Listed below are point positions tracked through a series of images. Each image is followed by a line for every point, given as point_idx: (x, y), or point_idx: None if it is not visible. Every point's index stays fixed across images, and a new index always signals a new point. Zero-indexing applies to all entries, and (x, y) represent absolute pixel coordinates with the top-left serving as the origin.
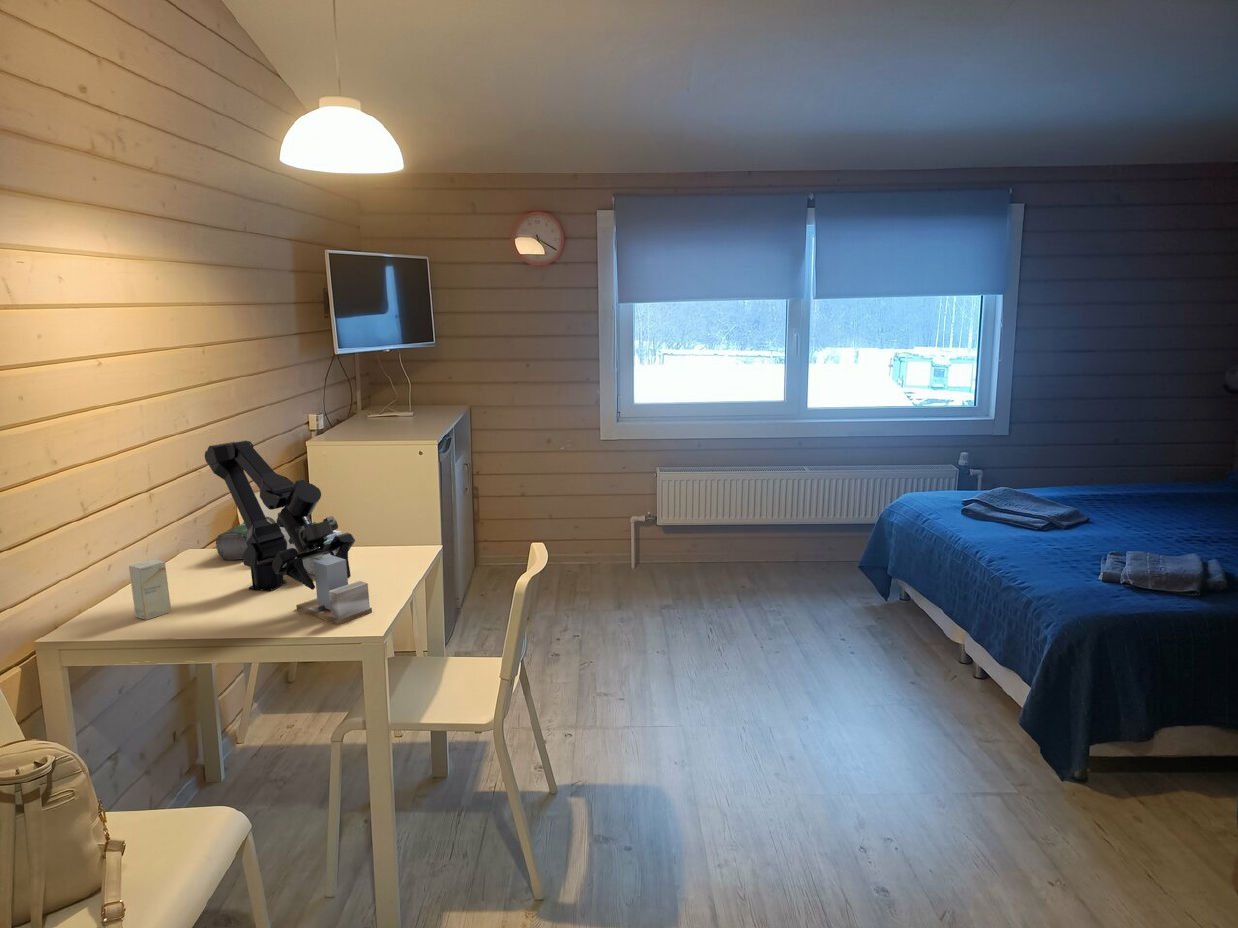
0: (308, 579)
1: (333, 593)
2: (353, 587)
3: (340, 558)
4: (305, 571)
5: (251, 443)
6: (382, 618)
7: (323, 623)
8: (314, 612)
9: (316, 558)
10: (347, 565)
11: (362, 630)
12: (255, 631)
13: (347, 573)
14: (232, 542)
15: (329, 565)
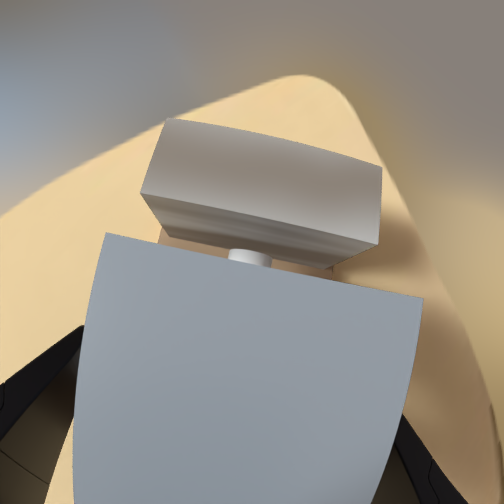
0: (407, 429)
1: (379, 198)
2: (261, 142)
3: (94, 352)
4: (422, 482)
5: None
6: (215, 119)
7: (347, 283)
8: None
9: None
10: (35, 371)
11: (323, 118)
12: (459, 421)
13: None
14: None
15: (379, 292)
